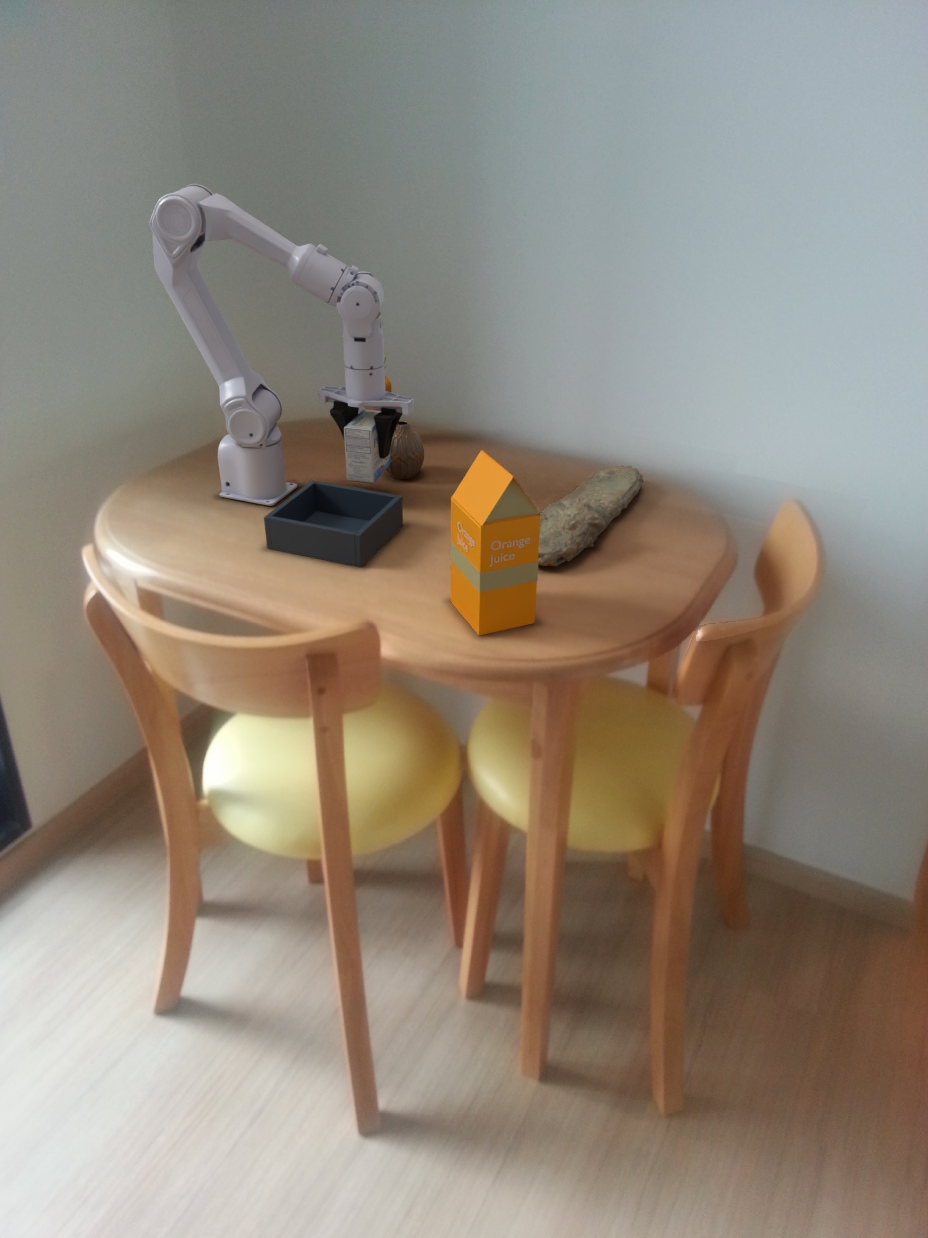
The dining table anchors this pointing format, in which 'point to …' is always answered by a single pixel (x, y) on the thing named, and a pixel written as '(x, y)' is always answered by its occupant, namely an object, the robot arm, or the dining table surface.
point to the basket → (334, 523)
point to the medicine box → (363, 449)
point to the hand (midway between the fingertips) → (368, 453)
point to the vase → (405, 452)
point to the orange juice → (493, 549)
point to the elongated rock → (585, 513)
